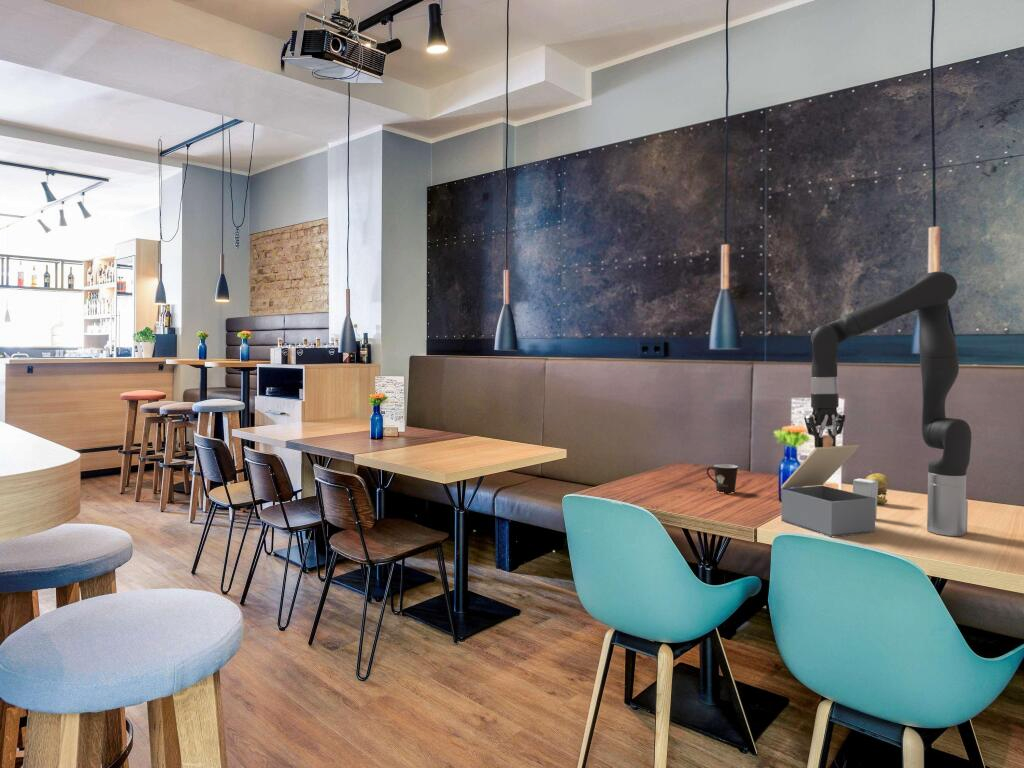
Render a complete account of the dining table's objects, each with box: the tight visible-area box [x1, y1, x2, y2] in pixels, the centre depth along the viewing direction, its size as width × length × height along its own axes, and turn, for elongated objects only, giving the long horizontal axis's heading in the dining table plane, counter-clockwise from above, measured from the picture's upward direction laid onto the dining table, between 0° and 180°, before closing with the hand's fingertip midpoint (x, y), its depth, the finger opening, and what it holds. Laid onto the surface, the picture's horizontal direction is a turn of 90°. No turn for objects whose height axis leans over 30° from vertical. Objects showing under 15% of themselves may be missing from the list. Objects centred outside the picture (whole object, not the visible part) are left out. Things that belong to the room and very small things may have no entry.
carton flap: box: [780, 434, 861, 489], centre depth 203 cm, size 16×20×6 cm
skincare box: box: [852, 478, 878, 520], centre depth 208 cm, size 6×4×12 cm
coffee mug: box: [706, 463, 739, 493], centre depth 250 cm, size 12×9×10 cm
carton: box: [780, 485, 876, 538], centre depth 198 cm, size 16×20×10 cm
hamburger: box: [864, 470, 890, 505], centre depth 228 cm, size 8×7×12 cm
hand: (825, 448), depth 198 cm, fingers closed on carton flap, 4 cm apart
